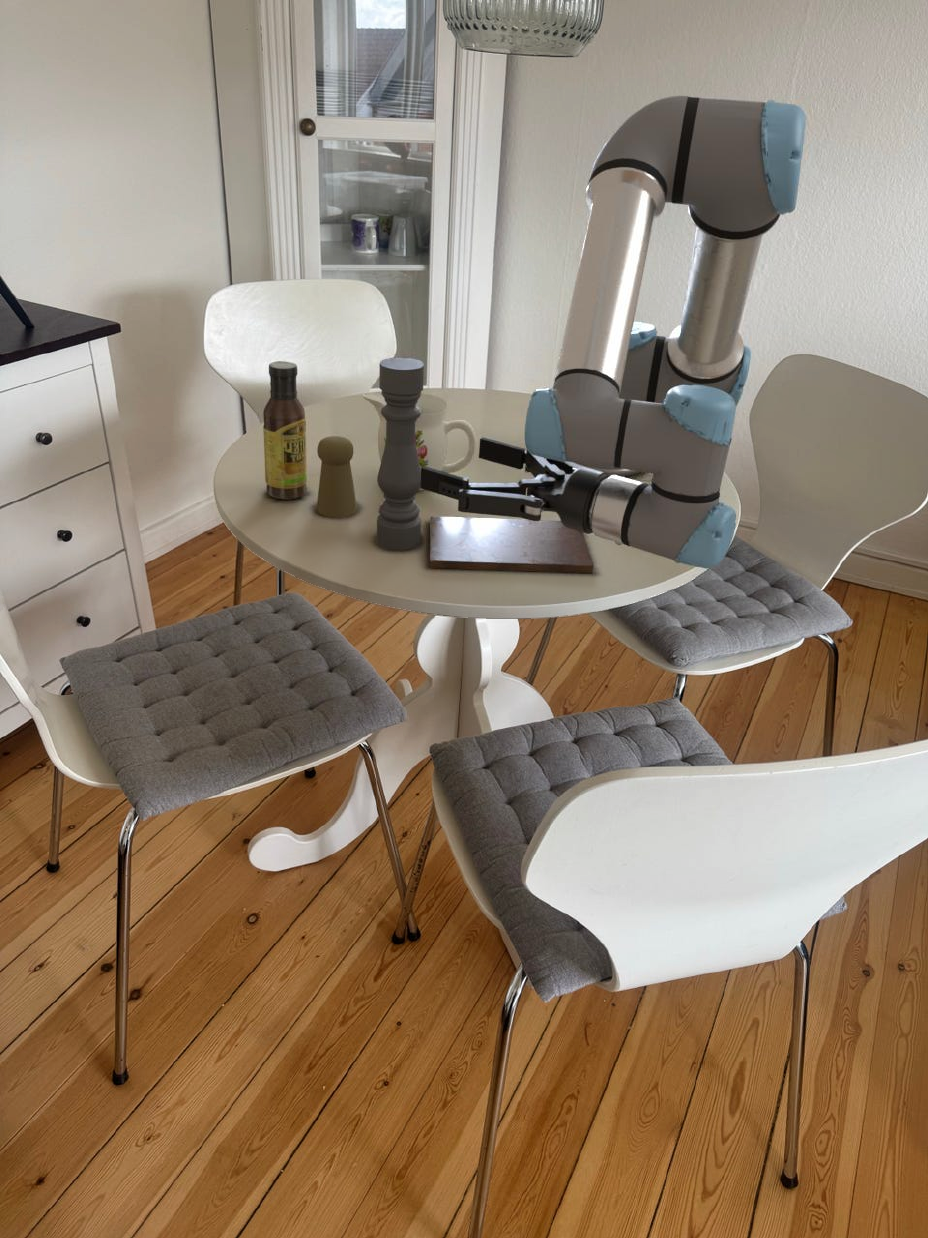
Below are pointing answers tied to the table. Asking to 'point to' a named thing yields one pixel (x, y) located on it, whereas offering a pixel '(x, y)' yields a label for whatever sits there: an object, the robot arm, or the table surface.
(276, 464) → the sauce bottle
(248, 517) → the table surface
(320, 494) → the olive pepper mill
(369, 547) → the table surface
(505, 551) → the walnut board
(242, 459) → the table surface
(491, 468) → the table surface
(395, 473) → the candle holder
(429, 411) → the pitcher
